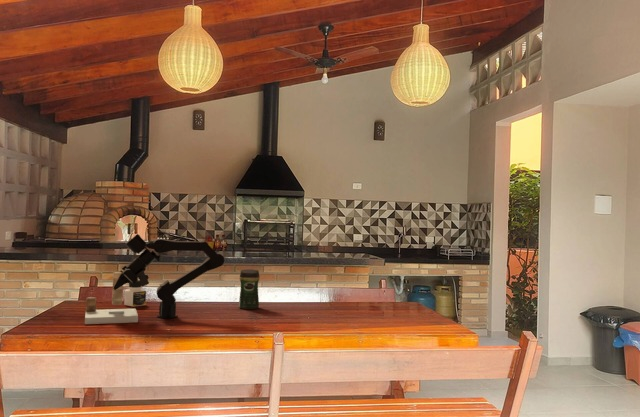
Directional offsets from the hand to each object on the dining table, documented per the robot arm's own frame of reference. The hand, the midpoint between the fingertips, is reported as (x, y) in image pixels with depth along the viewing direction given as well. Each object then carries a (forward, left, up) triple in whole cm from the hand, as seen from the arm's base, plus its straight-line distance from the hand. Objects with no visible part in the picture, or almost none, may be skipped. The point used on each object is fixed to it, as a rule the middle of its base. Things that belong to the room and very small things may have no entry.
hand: (113, 288), depth 233 cm
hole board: (0, 0, -13) cm, 13 cm away
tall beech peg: (-1, -1, -7) cm, 7 cm away
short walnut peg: (+10, +3, -10) cm, 15 cm away
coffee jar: (-29, -57, -13) cm, 65 cm away
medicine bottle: (+17, -29, -13) cm, 36 cm away
